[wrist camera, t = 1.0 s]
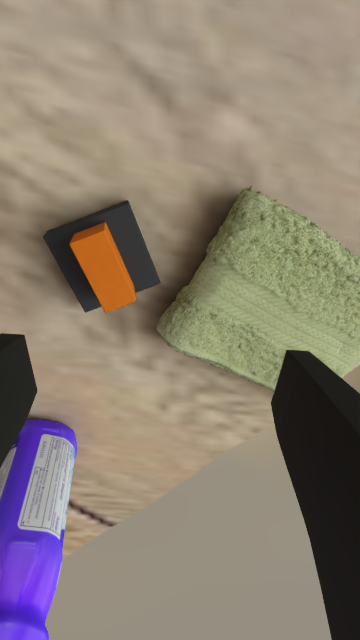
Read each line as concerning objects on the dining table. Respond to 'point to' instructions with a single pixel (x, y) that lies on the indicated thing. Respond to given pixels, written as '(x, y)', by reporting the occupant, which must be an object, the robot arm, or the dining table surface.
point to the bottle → (33, 525)
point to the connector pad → (124, 241)
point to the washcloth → (268, 295)
